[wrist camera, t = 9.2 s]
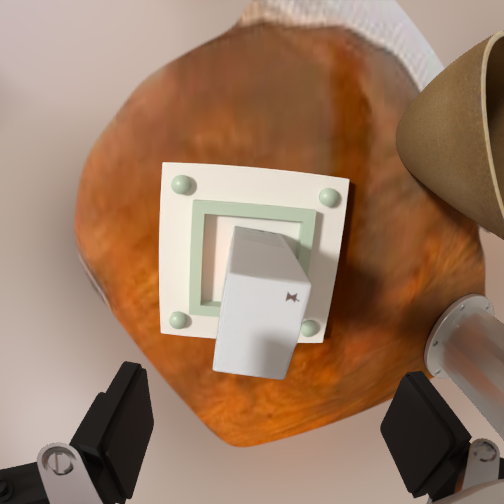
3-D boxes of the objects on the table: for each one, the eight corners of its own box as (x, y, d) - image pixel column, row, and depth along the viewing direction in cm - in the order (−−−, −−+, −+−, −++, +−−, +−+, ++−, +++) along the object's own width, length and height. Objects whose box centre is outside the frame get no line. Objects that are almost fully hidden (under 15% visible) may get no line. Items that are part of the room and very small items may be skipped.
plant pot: (356, 207, 27) (471, 250, 11) (364, 61, 23) (462, -11, 8) (466, 224, 28) (572, 263, 12) (472, 101, 24) (575, 86, 8)
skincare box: (233, 224, 25) (227, 268, 14) (282, 232, 26) (317, 282, 14) (221, 290, 27) (210, 373, 15) (268, 298, 27) (287, 382, 15)
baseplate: (343, 178, 26) (354, 179, 23) (318, 335, 30) (325, 349, 27) (166, 162, 25) (159, 161, 22) (164, 325, 29) (158, 339, 26)
